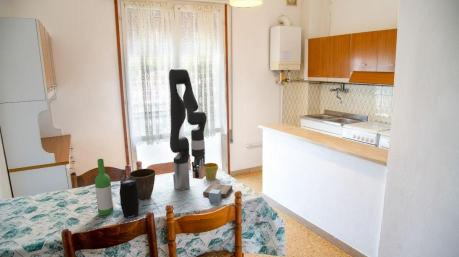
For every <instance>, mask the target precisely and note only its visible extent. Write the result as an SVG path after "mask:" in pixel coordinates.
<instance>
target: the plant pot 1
mask: <svg viewBox="0 0 459 257" xmlns="http://www.w3.org/2000/svg"><path fill="white" fill-rule="evenodd" d="M128 177H129V178H135V179H136V183H137V187H138V195H139V202H140V201H142V202H144V201H148V200H150V199H151V198H152V195H153V191H154V187H155V180H156V170H155V169H152V168H139V169H135V170H132V171H131V172H129V174H128Z"/></svg>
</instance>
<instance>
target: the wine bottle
mask: <svg viewBox="0 0 459 257" xmlns="http://www.w3.org/2000/svg"><path fill="white" fill-rule="evenodd" d="M104 162H105V161H104V158H98V159H97V170H98V175H96V177H95V178H94V186H95V188H94V189H95V197H96V205H97V207H96V208H97V212H98V214H99V215H101V216H107V215H111V214H112V213H113V212H114V201H113V194H112V193H113V191H112V182H111V178H110V176H109V175H108V174H107V173H106V172H105V163H104Z"/></svg>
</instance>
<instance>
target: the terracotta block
mask: <svg viewBox="0 0 459 257" xmlns="http://www.w3.org/2000/svg"><path fill="white" fill-rule="evenodd" d="M197 169H198V168H197ZM191 170H192V169H191ZM204 178H206V176H205V167H202V166H200V168H199V178H195V172H193V170H192V179H196V180H203V179H204Z"/></svg>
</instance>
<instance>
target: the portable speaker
mask: <svg viewBox="0 0 459 257" xmlns="http://www.w3.org/2000/svg"><path fill="white" fill-rule="evenodd" d="M119 181H120V182H119V183H120V184H119V185H120V186H119V200H120V207H121V208H120V209H121V211H122V215H123V217H124V218H125V219H129V218H131V217H135V218H136V217H138V216H139V211H140V200H139V195H138V187H137V183H136V179H135V178H130V177H129V178H124V179H121V180H119Z"/></svg>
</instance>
